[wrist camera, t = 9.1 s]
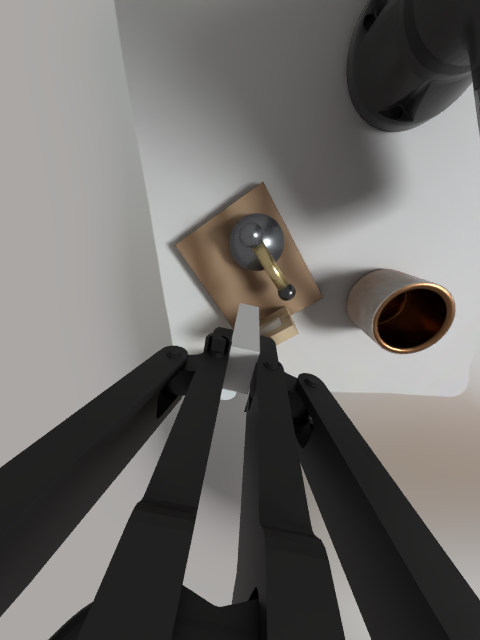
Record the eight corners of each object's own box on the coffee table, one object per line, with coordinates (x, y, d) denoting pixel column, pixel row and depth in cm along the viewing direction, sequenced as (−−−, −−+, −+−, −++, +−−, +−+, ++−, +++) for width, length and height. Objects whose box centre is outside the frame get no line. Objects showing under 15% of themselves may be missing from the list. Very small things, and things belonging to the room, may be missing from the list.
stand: (262, 184, 34) (266, 168, 24) (319, 294, 40) (340, 315, 30) (179, 244, 38) (155, 250, 28) (242, 336, 44) (240, 366, 34)
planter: (332, 309, 41) (354, 333, 32) (374, 255, 37) (413, 265, 28) (379, 337, 42) (412, 367, 33) (424, 288, 38) (476, 307, 29)
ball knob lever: (220, 235, 35) (214, 237, 29) (264, 202, 33) (266, 197, 27) (266, 303, 39) (268, 316, 33) (308, 277, 37) (318, 286, 31)
